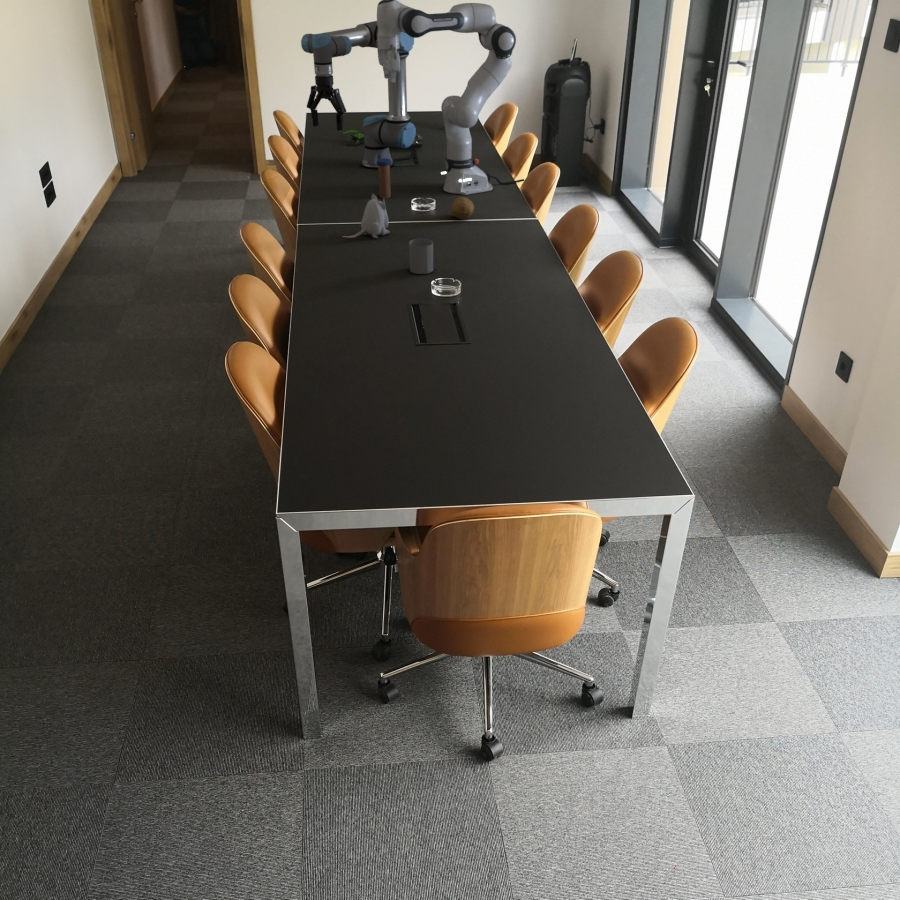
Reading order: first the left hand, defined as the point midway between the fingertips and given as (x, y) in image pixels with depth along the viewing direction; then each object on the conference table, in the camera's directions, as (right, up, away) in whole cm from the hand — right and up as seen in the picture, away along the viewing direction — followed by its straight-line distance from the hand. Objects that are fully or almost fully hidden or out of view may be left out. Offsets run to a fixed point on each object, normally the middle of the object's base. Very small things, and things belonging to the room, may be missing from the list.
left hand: (327, 128), depth 372 cm
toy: (+20, -56, -36) cm, 70 cm away
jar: (+24, -26, +11) cm, 37 cm away
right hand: (+28, +15, -14) cm, 34 cm away
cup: (+42, -75, -64) cm, 107 cm away
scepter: (+10, +27, +93) cm, 97 cm away
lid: (+24, -13, +2) cm, 27 cm away
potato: (+58, -43, -15) cm, 73 cm away
